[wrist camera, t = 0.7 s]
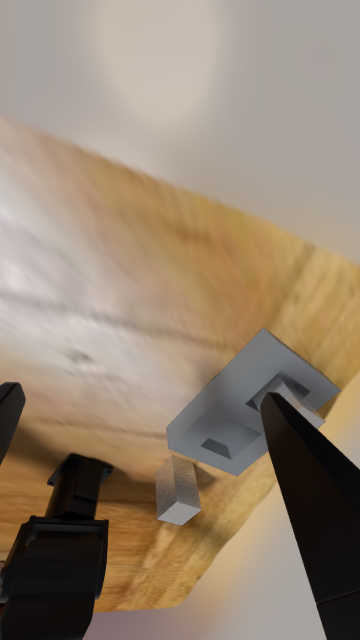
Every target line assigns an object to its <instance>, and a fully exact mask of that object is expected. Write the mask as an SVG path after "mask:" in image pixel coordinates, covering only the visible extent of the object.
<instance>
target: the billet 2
mask: <svg viewBox="0 0 360 640" xmlns="http://www.w3.org/2000/svg"><path fill="white" fill-rule="evenodd" d="M267 392H278V393H279V394H281V395H282V396H283V397H284V398H285V399H286V400H287V401H288V402H289V403H290V404H291V405H292V406H293V407H294V408H295V409H296V410H297V411H299V412H300V413H301V414H302V415H303V416H304V417H305V418H306V419H307V420H308V421H309V422H310V423H311V424H312V425H313V426H314V427H315V428H316V429H317V428H318V427H320V426H321V425H322V424H323V423H325V420H324V419H323V418H322V417H321V416H320V414H319V413H318V412H317V411H316V410H315V408H314V407H313V406H312V405H311V404H310V402H309V401H308V400H307V399H306V398H305V397H304V395H303V394H302V393H301V392H300V391H299V389H298V388H297V387H296V386H295V385H294V383H293V382H292V381H290V380H289V379H287V378H286V377H284V376H283V375H282V374H280V373H278V374H276V375H275V376H274V377H273V378H272V379H271V380H270V381H269V382H268V383H267V384H266V385H265V386H264V387H263V388H262V389H260V390H259V391H258V392H257V393H256V394H255V395H254V396H253V397H252V399H253V400H254V402H255V404H256V406H257V408H258V409H259V411H260V404H261V402H262V400H263V398H264V396H265V394H266V393H267Z"/></svg>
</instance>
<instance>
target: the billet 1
mask: <svg viewBox="0 0 360 640" xmlns="http://www.w3.org/2000/svg"><path fill="white" fill-rule="evenodd" d="M155 476H156V505H157V519H158V520H162V521H166V522H170V523H174V524H178V525H183V524H184V523H186V522H187V521H188V520H189V519H191V518H192V517H193V516H194V515H195V514H197V513H198V512H199V511H200V510H202V509H201V503H200V498H199V492H198V487H197V482H196V476H195V471H194V465H193V463H192V462H189V461H187V460H184V459H182V458H179V457H177V456H174V455H171V456H170V457H169V458H168V459H167V460H166V461H165V462H164V463H163V464H162V465H161V466H160V467H159V468H158V469H157V470H155Z"/></svg>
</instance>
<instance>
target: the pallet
mask: <svg viewBox="0 0 360 640" xmlns="http://www.w3.org/2000/svg"><path fill="white" fill-rule="evenodd" d="M278 373H280V374H282V375H283V376H284V377H286V378H287V379H289V380H290V381H292V382H293V383H294V385H295V386H296V387H297V388H298V389H299V391H300V392H301V393H302V394H303V395H304V397H305V398H306V399H307V400H308V401H309V402H310V404H311V405H312V406H313V407H314V408H315V410H316V411H317V410H318V409H319V408H320V407H321V406H323V405H324V404H325V403H326V402H327V401H329V400H330V399H331V398H332V397H334V396H335V395H336V394H337V393H338V392H340V391H341V390H340V389H339V388H338V387H337V386H336V385H335V384H334V383H333V382H331V381H330V380H329V379H328V378H327V377H326V376H325V375H324V374H323V373H321V372H320V371H319V370H318V369H316V368H315V367H314V366H313V365H311V364H310V363H309V362H307V361H306V360H305V359H304V358H302V357H301V356H300V355H298V354H297V353H296V352H295V351H293V350H292V349H291V348H289V347H288V346H287V345H286V344H284V343H283V342H282V341H281V340H279V339H278V338H277V337H275V336H274V335H273V334H272V333H270V332H269V331H268V330H266V329H265V328H264V327H263V328H262V329H261V331H260V332H259V333H258V334H257V335H256V336H255V337H254V338H253V339H252V340H251V341H250V342H249V343H248V344H247V345H246V346H245V347H244V348H243V349H242V350H241V351H240V352H239V353H238V354H237V355H236V356H235V357H234V358H233V359H232V360H231V361H230V362H229V364H228V365H227V366H226V367H225V368H224V369H223V370H222V371H221V372H220V373H219V374H218V375H217V376H216V377H215V378H214V379H213V380H212V381H211V382H210V383H209V384H208V385H207V386H206V387H205V388H204V389H203V390H202V391H201V392H200V393H199V394H198V395H197V397H196V398H195V399H194V400H193V401H192V402H191V403H190V404H189V405H188V406H187V407H186V408H185V409H184V410H183V411H182V412H181V413H180V414H179V415H178V416H177V417H176V418H175V419H174V420H173V421H172V422H171V423H170V424H169V425H168V426H167V427H166V429H167V440H168V449H170V450H173V451H175V452H178V453H180V454H183V455H185V456H188V457H190V458H193V459H195V460H198V461H200V462H203V463H205V464H208V465H210V466H213V467H215V468H218V469H220V470H223V471H225V472H228V473H230V474H233V475H235V476H238V475H239V474H241V473H242V472H243V471H244V470H245V469H247V468H248V467H249V466H250V465H251V464H253V463H254V462H255V461H256V460H257V459H259V458H260V457H261V456H262V455H264V454H265V453H266V452H267V451H268V447H267V442H266V437H265V432H264V428H263V423H262V418H261V413H260V411H259V409H258V408H257V406H256V404H255V402H254V400H253V399H252V397H253V396H254V395H255V394H256V393H257V392H258V391H259V390H260V389H262V388H263V387H264V386H265V385H266V384H267V383H268V382H269V381H270V380H271V379H272V378H273V377H274V376H275V375H276V374H278Z"/></svg>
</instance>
